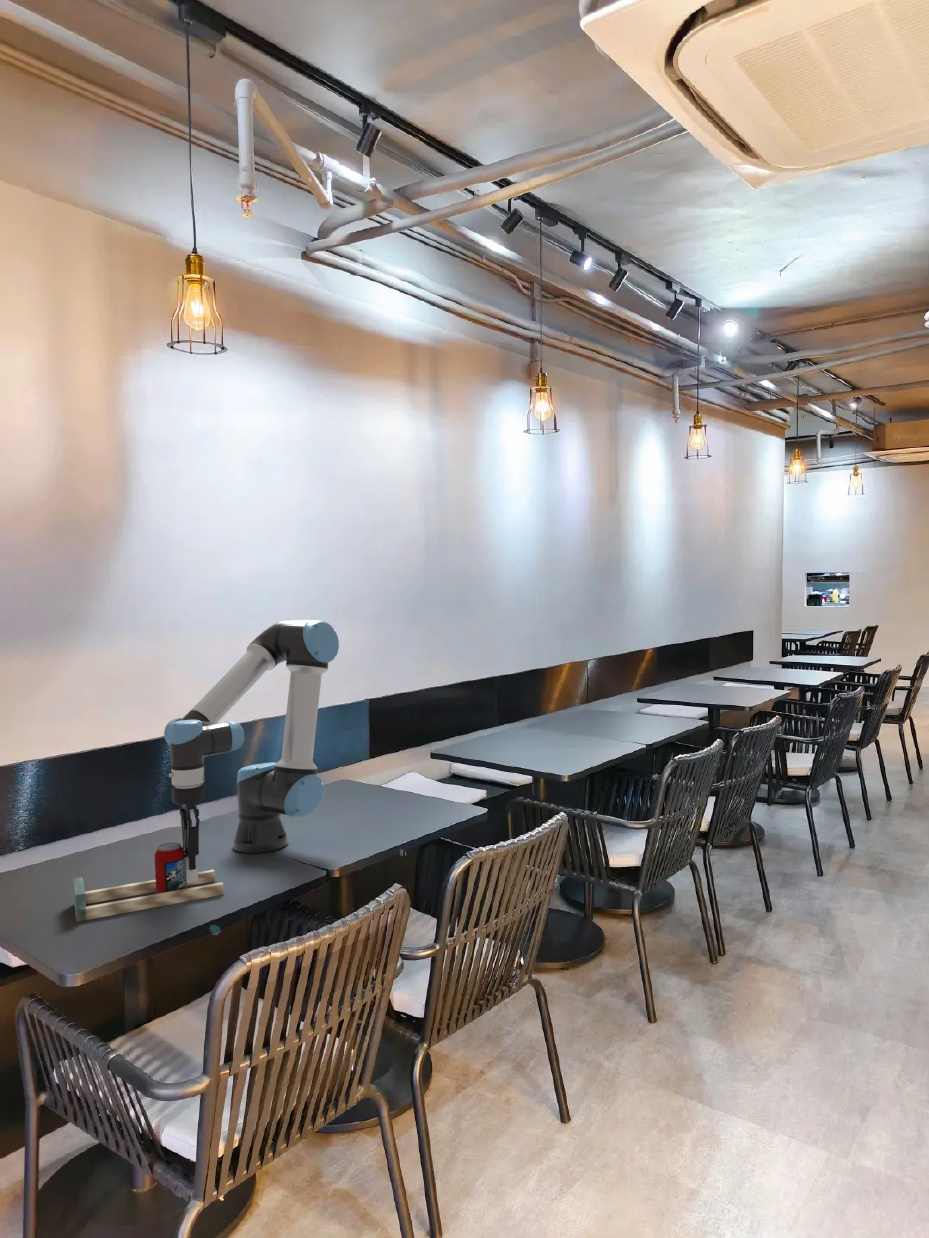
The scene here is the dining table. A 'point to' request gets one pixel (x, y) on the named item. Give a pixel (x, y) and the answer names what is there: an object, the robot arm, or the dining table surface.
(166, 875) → the beverage can
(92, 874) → the dining table surface
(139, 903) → the channel
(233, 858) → the dining table surface
